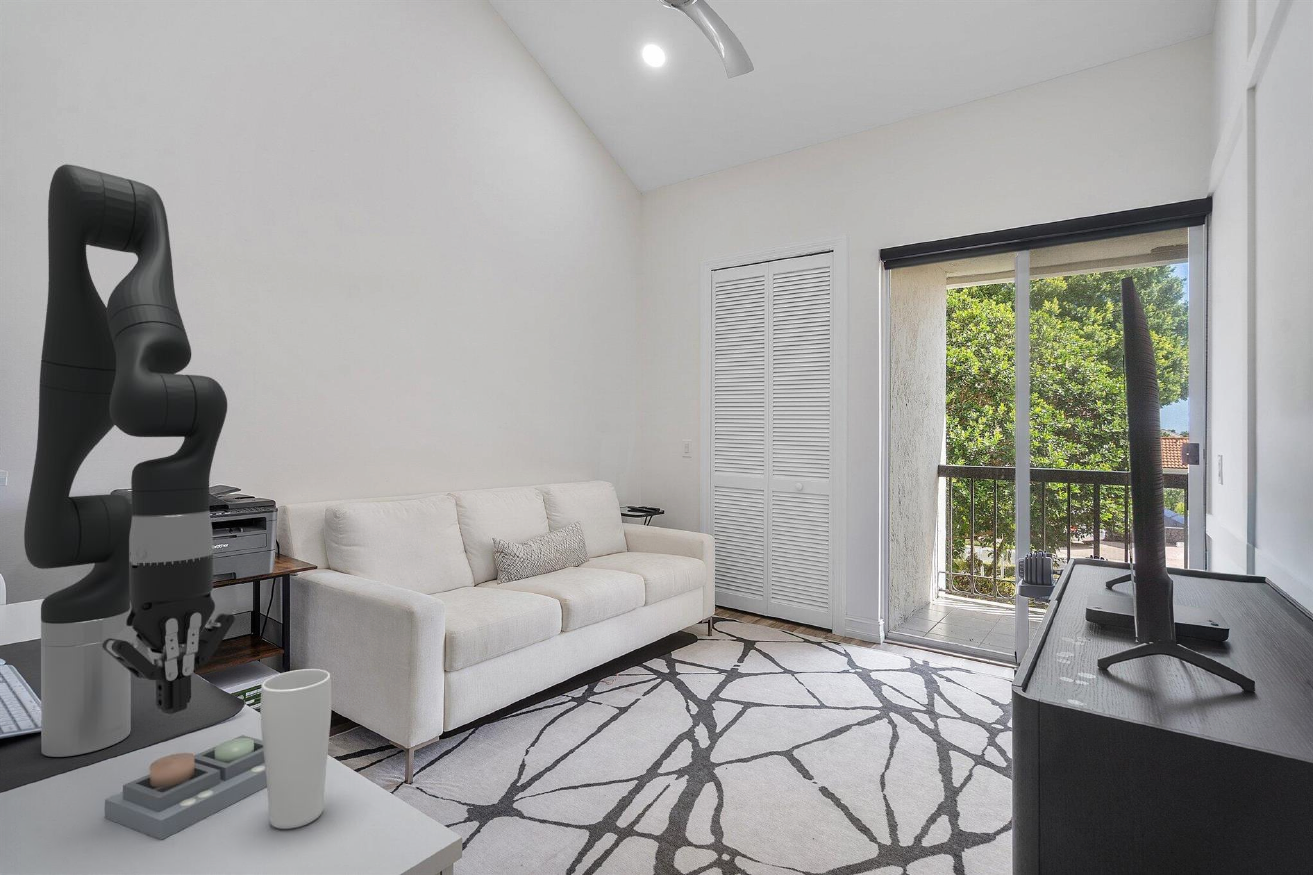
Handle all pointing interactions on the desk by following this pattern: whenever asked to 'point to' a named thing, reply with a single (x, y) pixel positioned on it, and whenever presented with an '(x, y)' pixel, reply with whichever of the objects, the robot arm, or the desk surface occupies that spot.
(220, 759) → the button one
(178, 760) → the button two
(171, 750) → the desk surface
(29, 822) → the desk surface
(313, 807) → the drinking glass
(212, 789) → the two-button control panel
